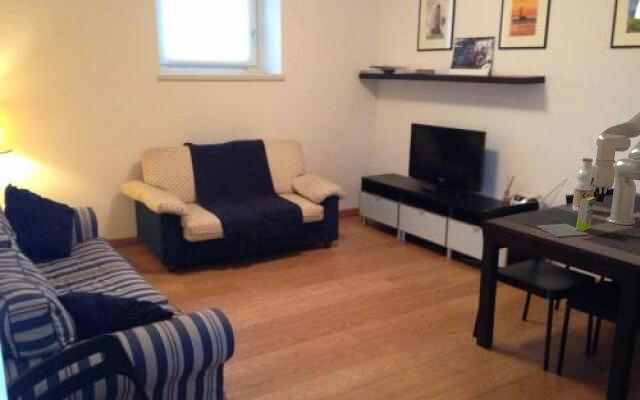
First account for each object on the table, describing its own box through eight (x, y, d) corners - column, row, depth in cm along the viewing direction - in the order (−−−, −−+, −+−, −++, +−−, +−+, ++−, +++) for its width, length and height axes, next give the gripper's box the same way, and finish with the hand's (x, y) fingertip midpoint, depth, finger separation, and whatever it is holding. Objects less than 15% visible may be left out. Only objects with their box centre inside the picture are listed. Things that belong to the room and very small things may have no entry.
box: (583, 231, 255) (590, 195, 251) (574, 229, 257) (580, 193, 254) (590, 228, 263) (596, 193, 259) (581, 226, 265) (587, 191, 261)
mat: (566, 224, 268) (566, 223, 268) (588, 235, 252) (588, 234, 252) (536, 226, 265) (536, 225, 265) (557, 237, 249) (557, 236, 249)
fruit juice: (569, 210, 294) (574, 158, 287) (576, 207, 300) (582, 156, 293) (587, 213, 287) (593, 161, 280) (594, 210, 293) (600, 158, 287)
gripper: (613, 161, 258) (608, 198, 263) (584, 162, 256) (580, 200, 260) (624, 164, 251) (619, 202, 256) (595, 165, 249) (590, 204, 253)
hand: (599, 201), depth 258 cm, fingers closed
